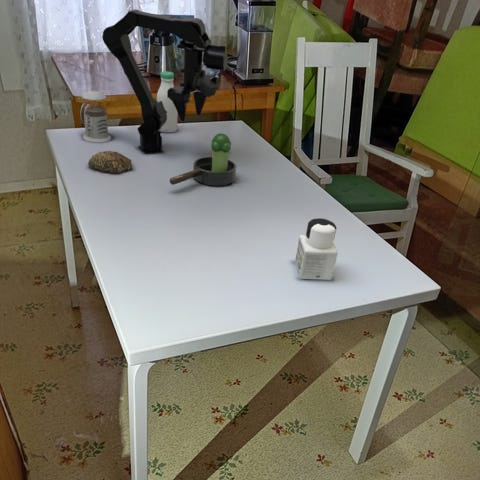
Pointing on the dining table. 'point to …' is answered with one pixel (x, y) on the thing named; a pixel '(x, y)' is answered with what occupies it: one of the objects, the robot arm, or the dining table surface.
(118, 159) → the bread roll
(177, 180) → the pan handle
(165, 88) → the milk bottle
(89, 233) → the dining table surface
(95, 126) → the french press
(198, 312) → the dining table surface
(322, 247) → the container
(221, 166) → the broccoli
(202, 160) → the pan
